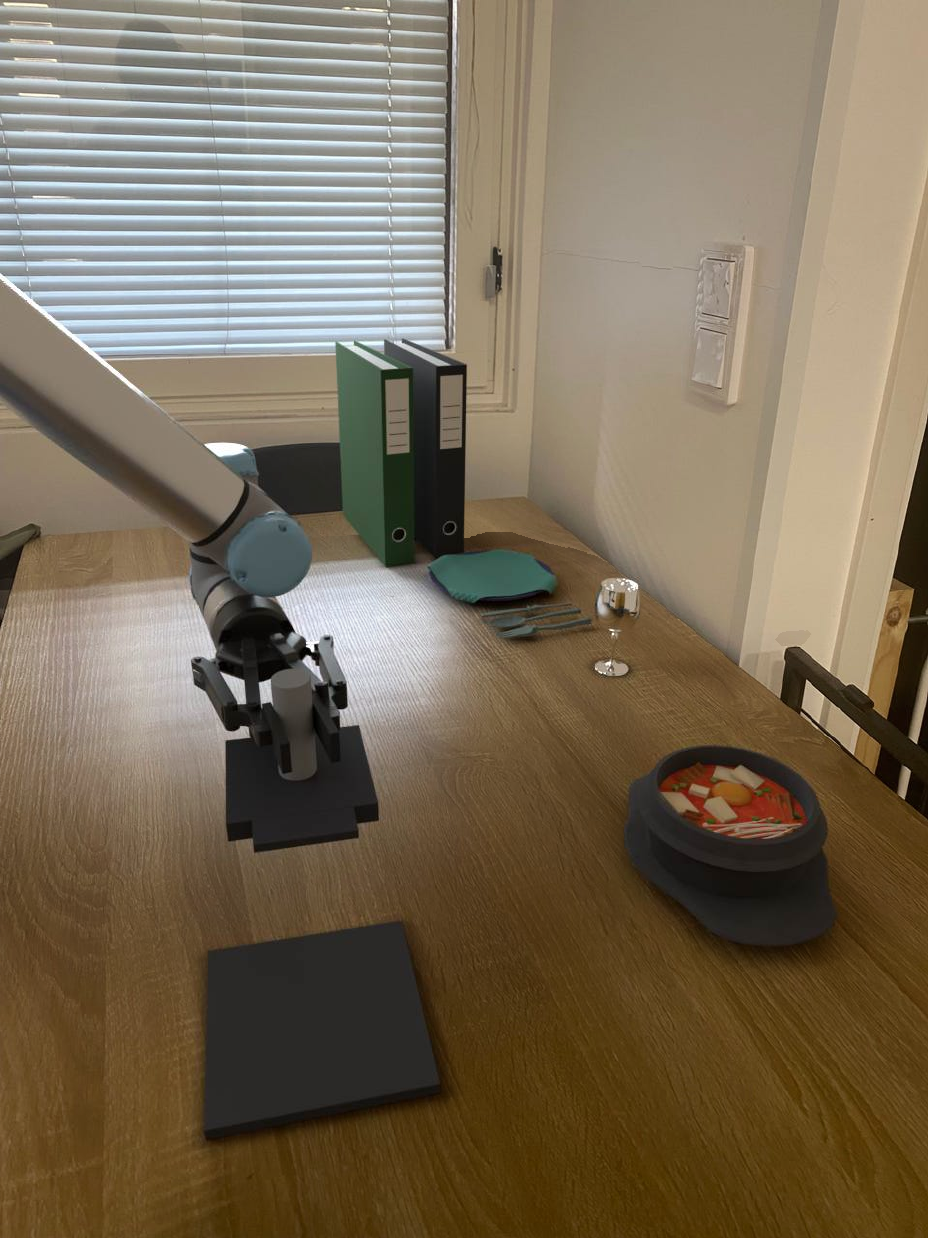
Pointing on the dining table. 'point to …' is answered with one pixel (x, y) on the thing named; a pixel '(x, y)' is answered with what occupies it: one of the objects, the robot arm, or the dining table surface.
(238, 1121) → the black pad
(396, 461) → the binder
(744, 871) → the casserole
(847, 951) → the dining table surface
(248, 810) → the black base with peg
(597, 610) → the wineglass
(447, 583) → the cutlery set
